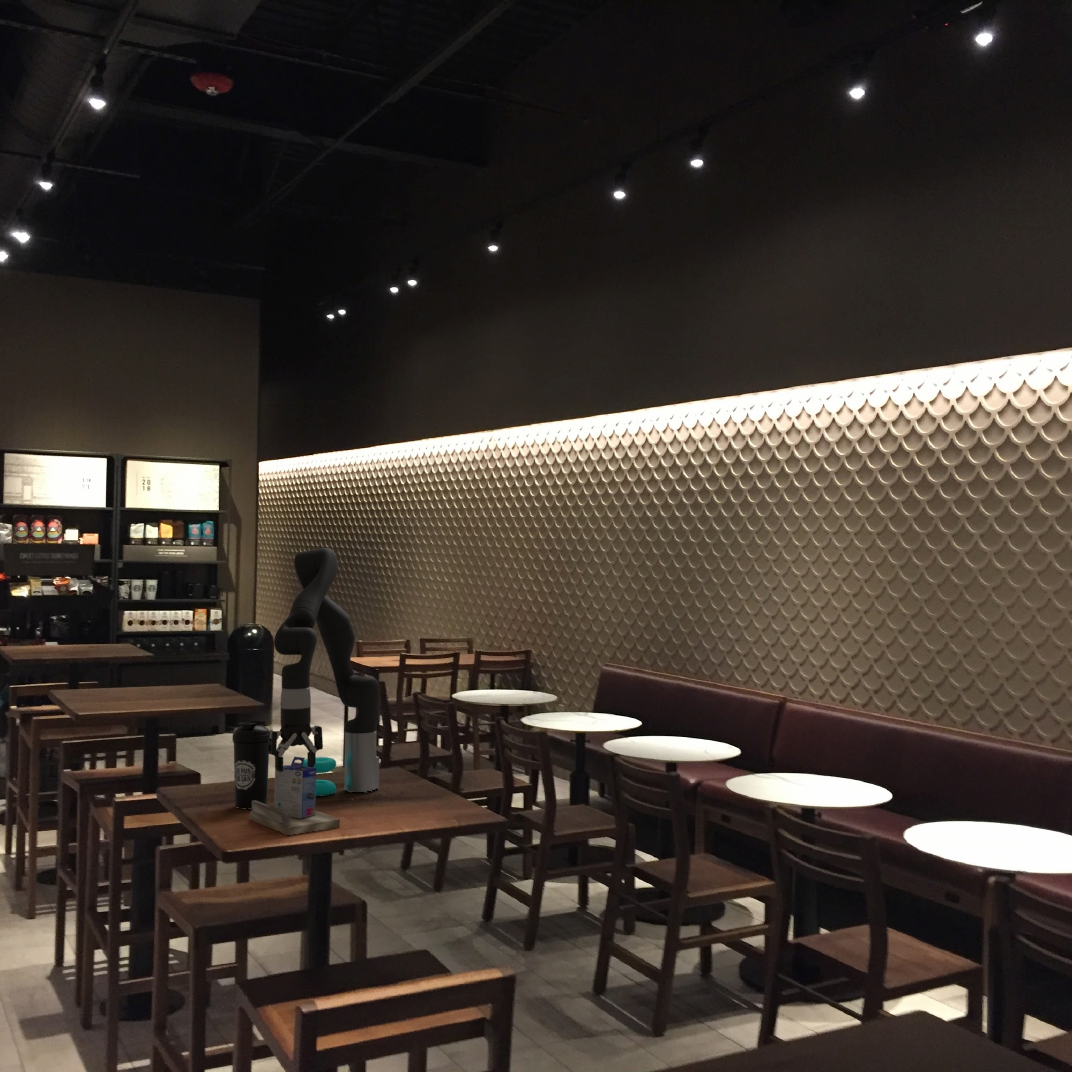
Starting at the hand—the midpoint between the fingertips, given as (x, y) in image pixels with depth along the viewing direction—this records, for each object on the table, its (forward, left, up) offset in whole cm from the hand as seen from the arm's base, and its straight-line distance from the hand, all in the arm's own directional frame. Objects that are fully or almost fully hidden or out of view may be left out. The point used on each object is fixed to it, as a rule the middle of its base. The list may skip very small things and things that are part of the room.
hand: (295, 769), depth 273 cm
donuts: (-22, -29, -14) cm, 39 cm away
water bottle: (0, -26, -14) cm, 30 cm away
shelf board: (0, 0, -14) cm, 14 cm away
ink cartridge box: (0, 0, -12) cm, 12 cm away
